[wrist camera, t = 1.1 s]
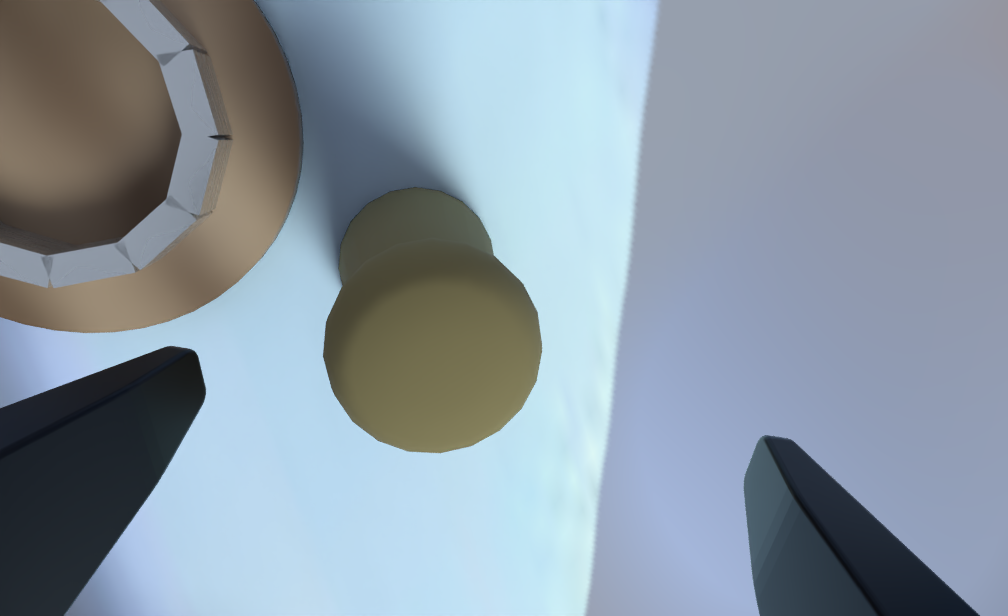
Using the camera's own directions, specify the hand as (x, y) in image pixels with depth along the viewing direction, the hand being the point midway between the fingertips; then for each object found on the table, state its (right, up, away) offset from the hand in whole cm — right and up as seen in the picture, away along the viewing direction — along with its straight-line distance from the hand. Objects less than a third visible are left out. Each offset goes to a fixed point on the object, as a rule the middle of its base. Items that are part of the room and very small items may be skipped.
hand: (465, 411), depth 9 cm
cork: (-3, +3, +14) cm, 15 cm away
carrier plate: (-13, +8, +10) cm, 19 cm away
